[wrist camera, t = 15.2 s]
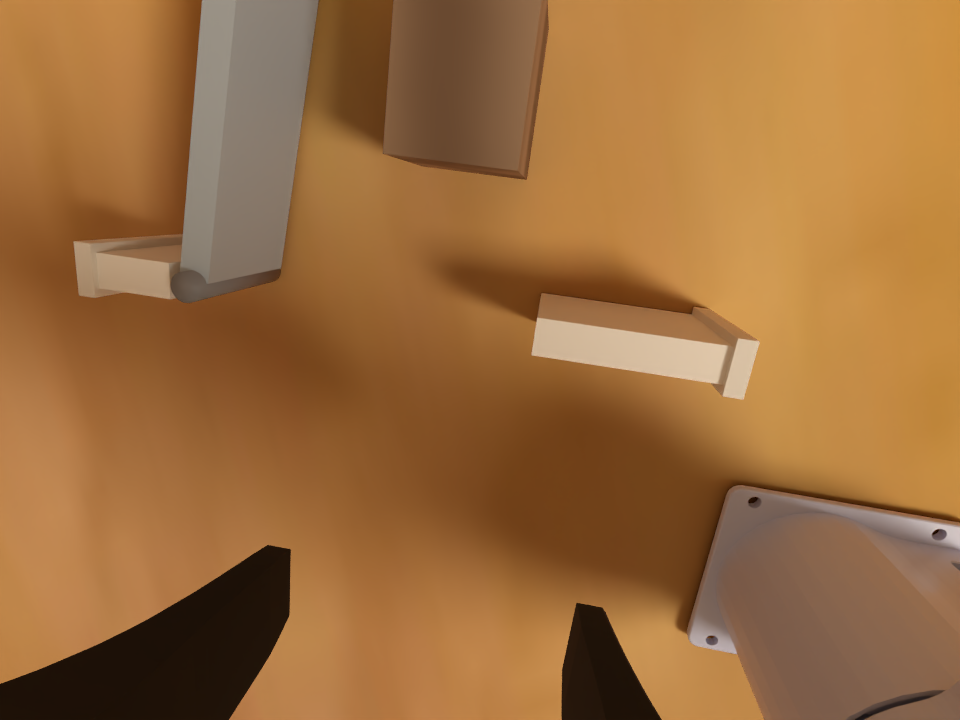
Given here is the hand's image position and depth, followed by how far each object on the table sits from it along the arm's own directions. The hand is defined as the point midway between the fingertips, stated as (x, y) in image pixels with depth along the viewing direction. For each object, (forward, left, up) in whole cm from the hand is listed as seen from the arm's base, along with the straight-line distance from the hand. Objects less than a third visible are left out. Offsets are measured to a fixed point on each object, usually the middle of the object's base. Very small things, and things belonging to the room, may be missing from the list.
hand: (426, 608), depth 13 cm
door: (+10, -11, -10) cm, 18 cm away
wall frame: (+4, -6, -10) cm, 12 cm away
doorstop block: (+2, -13, -11) cm, 17 cm away
